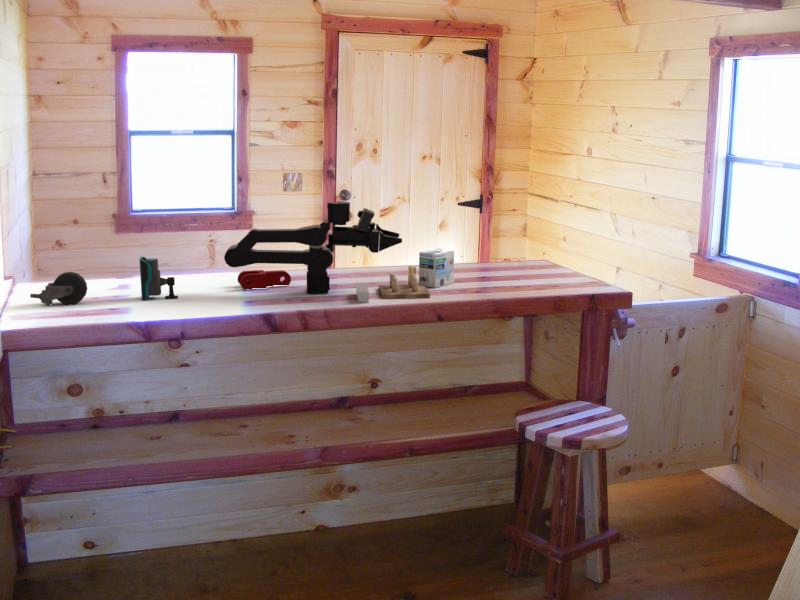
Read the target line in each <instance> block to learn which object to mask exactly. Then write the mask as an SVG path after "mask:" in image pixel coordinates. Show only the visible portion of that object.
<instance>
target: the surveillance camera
mask: <svg viewBox="0 0 800 600" xmlns="http://www.w3.org/2000/svg"><path fill="white" fill-rule="evenodd" d="M139 272H140V274H139V275H140V290H141V291H140V292H141V301H146V300H147V299H150V297H152V296H153V297H155V296H161V294H162V286H166V285H167V286H168V288H169V289H168V290H169V293H168V295H165V296H164V300H178V298H179V295H175V292H174V286H175V284H176V283H175V282H176V281H175V277H173V276H172V277H171V276H169V277H167V278H164V277H161V271H160V270H159V259H158V258H147V257H145V256H141V257H140V258H139ZM145 299H146V300H145Z"/></svg>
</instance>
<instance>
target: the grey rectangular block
mask: <svg viewBox="0 0 800 600" xmlns="http://www.w3.org/2000/svg"><path fill="white" fill-rule="evenodd" d="M355 285H356V286H355V296H356V299H357V304H363V303H364V304H368V303H369V302H370V301H369V300H370V297H369V296H370V295H369V294H370V292H369V289H368V285H367V283H356V284H355Z"/></svg>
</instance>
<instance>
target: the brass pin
mask: <svg viewBox="0 0 800 600" xmlns="http://www.w3.org/2000/svg"><path fill="white" fill-rule="evenodd" d="M407 269H408V270H407V285H409V274H415V278H417V275H416V273H417V271H416V270H417V266H416V265H410V266H409V265H408V266H407Z"/></svg>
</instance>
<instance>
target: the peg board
mask: <svg viewBox="0 0 800 600" xmlns="http://www.w3.org/2000/svg"><path fill="white" fill-rule="evenodd" d="M378 291H379V293H380V296H381V297H382V299H431V298H430V297H431V293H430V291H429V290H428V289H427V286H424V285H419V277H416V278H415V274H409V285H408V284H399V278H398V277H397V275H396V273H390V274H389V284H379V285H378Z"/></svg>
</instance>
